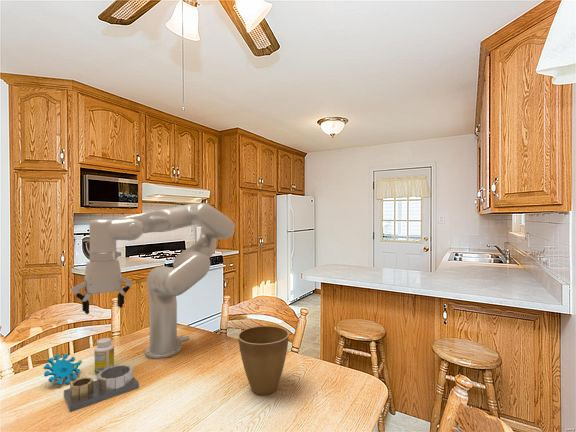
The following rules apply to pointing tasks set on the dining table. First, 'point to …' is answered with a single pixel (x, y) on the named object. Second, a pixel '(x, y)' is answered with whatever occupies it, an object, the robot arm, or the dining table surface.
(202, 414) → the dining table surface
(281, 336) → the plant pot
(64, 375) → the blue virus model
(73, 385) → the fitting plate
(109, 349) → the supplement bottle
